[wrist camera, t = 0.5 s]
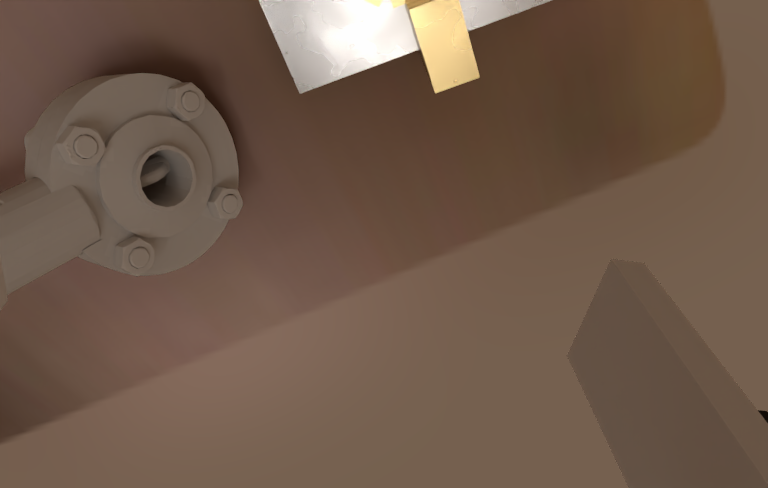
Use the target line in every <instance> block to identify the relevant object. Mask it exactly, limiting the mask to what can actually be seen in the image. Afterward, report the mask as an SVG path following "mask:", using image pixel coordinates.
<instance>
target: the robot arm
mask: <svg viewBox="0 0 768 488" xmlns="http://www.w3.org/2000/svg"><path fill="white" fill-rule="evenodd" d="M7 301H8V297H7V292H6V286H5V280H4V274H3V269H2V263H1V257H0V310H1V309H2V308H3V307H4V305H5V304H6V303H7ZM567 357H568V359H569V361H570V363H571V365H572V367H573V370H574V372H575V374H576V376H577V378H578V380H579V383H580V385H581V387H582V389H583V391H584V393H585V395H586V398H587V400H588V401H589V404H590V406H591V408H592V410H593V413H594V415H595V417H596V418H597V421H598V423H599V425H600V427H601V430H602V432H603V434H604V436H605V438H606V440H607V443H608V445H609V447H610V449H611V451H612V453H613V455H614V457H615V460H616V462H617V464H618V466H619V468H620V470H621V472H622V475H623V477H624V479H625V481H626V483H627V485H628V487H629V488H768V412H767V411H759V410H757V409H756V407H755V406H754V405H753V404H752V402H751V401H750V400H749V399H748V397H747V396H746V394H745V393H744V392H743V391H742V389H741V388H740V387H739V386H738V384H737V383H736V382H735V380H734V379H733V378H732V376H731V375H730V374H729V372H728V371H727V370H726V369H725V367H724V366H723V365H722V363H721V362H720V361H719V359H718V358H717V357H716V356H715V354H714V353H713V352H712V350H711V349H710V348H709V347H708V345H707V344H706V343H705V341H704V340H703V339H702V338H701V336H700V335H699V333H698V332H697V331H696V330H695V328H694V327H693V326H692V324H691V323H690V322H689V320H688V319H687V318H686V317H685V315H684V314H683V313H682V311H681V310H680V309H679V307H678V306H677V305H676V304H675V302H674V301H673V300H672V298H671V297H670V296H669V295H668V293H667V292H666V291H665V289H664V288H663V287H662V286H661V284H660V283H659V282H658V280H657V279H656V278H655V276H654V275H653V274H652V272H651V271H650V270H649V269H648V267H647V266H646V265H645V263H640V262H633V261H624V260H616V259H611V260H610V262H609V264H608V267H607V269H606V271H605V273H604V275H603V278H602V280H601V282H600V284H599V286H598V289H597V291H596V293H595V295H594V298H593V300H592V302H591V304H590V306H589V309H588V311H587V313H586V315H585V317H584V320H583V322H582V324H581V326H580V328H579V330H578V333H577V335H576V337H575V339H574V341H573V344H572V346H571V348H570V350H569V352H568V355H567Z"/></svg>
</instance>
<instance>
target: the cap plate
mask: <svg viewBox="0 0 768 488" xmlns="http://www.w3.org/2000/svg"><path fill="white" fill-rule="evenodd" d="M459 1H460V5H461V9H462V12H463V16H464V20H465V23H466V27H467V31H471V30H473V29H476V28H479V27H481V26H484V25H487V24H489V23H492V22H495V21H497V20H500V19H503V18H506V17H508V16H511V15H514V14H516V13H519V12H522V11H524V10H527V9H530V8H532V7H535V6H538V5H541V4H543V3H546V2H549V1H551V0H459ZM259 2H260V5H261V7H262V9H263V11H264V14H265V16H266V18H267V21H268V23H269V25H270V27H271V30H272V32H273V34H274V36H275V39H276V41H277V43H278V45H279V48H280V50H281V52H282V55H283V57H284V59H285V61H286V64H287V66H288V68H289V70H290V73H291V75H292V77H293V80H294V82H295V84H296V86H297V89H298V91H299V93H300V94H301V93H304V92H306V91H309V90H312V89H314V88H317V87H320V86H322V85H325V84H328V83H331V82H333V81H336V80H339V79H341V78H344V77H347V76H349V75H352V74H355V73H357V72H360V71H363V70H366V69H368V68H371V67H374V66H376V65H379V64H382V63H384V62H387V61H390V60H392V59H395V58H398V57H401V56H403V55H406V54H409V53H411V52H414V51H417V50H419V49H418V46H417V43H416V40H415V36H414V33H413V30H412V27H411V24H410V21H409V17H408V14H407V11H406V8H405V5H404V4H403V5H401V6H398V7H396V8H393V5H392V3H391V0H382V2H381V5H380V7H377V6H375V5H373V4H371V3H369V2H367V1H365V0H259Z"/></svg>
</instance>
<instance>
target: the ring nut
mask: <svg viewBox="0 0 768 488" xmlns="http://www.w3.org/2000/svg"><path fill="white" fill-rule="evenodd" d="M365 1H367V2H369V3H371V4H373V5H375V6H377V7H380V5H381V2H382V0H365ZM391 3H392V5H393V8H396V7H398V6H401V5H403V4H404V5H405V8H406V11H407V14H408V17H409V21H410V24H411V27H412V30H413V33H414V36H415V40H416V43H417V46H418V49H419V52H420V55H421V59H422V62H423V65H424V67H425V70H426V72H427V75H428V77H429V80H430V82H431V84H432V87H433V89H434V92H435V93H438V92H441V91H443V90H446V89H449V88H452V87H455V86H457V85H460V84H463V83H466V82H468V81H471V80H474V79H477V78H480V76H479V72H478V68H477V65H476V61H475V57H474V53H473V50H472V46H471V42H470V38H469V35H468V31H467V27H466V23H465V20H464V16H463V12H462V9H461V5H460V1H459V0H391Z"/></svg>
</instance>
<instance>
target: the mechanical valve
mask: <svg viewBox="0 0 768 488" xmlns="http://www.w3.org/2000/svg"><path fill="white" fill-rule="evenodd" d="M24 144H25V149H26V159H25V169H24V170H25V180H26V182H23V183H21V184H19V185H17V186H14V187H12V188H10V189H8V190H5V191H3V192H1V193H0V257H1V263H2V269H3V274H4V280H5V286H6V292H7V295H8V294H10V293H12V292H14V291H15V290H17V289H19V288H21V287H23V286H25V285H26V284H28V283H30V282H32V281H34V280H35V279H37V278H39V277H41V276H43V275H44V274H46V273H48V272H50V271H52V270H54V269H55V268H57V267H59V266H61V265H63V264H64V263H66V262H68V261H70V260H72V259H73V258H75V257H79V258H81V259H83V260H85V261H88V262H91V263H94V264H97V265H100V266H103V267H106V268H109V269H112V270H115V271H119V272H122V273H125V274H129V275H134V276H136V277H137V276H139V275H140V276H150V275H160V274H165V273H168V272H172V271H175V270H178V269H180V268H182V267H184V266H186V265H188V264H190V263H192V262H193V261H195V260H196V259H198V258H199V257H200V256H202V255H203V254H204V253H205V252H206V251H207V250H208V249H209V248H210V247H211V246H212V245H213V244H214V243H215V242H216V240H217V239H218V238H219V236H220V235H221V233H222V232H223V230H224V229H225V227H226V225H227V223H228V221H229V219H235V218H236V217H237V216H238V214H239V212H240V210H241V208H242V206H243V201H242V198H241V196H240V193H239V191H238V182H239V168H238V160H237V153H236V149H235V146H234V142H233V139H232V136H231V134H230V132H229V130H228V127H227V125H226V123H225V121H224V120H223V118H222V117H221V115H220V114H219V112H218V111H217V110H216V109H215V107H214V106H213V105H212V104H211V103H210V102H209V101H208V100H207V99H206V98H205V95H204V93H203V92H202V91H201V90H200V89H199V88H198V87H196V86H195V85H194V84H193V83H192V82H185V83H183V82H181V81H179V80H177V79H173V78H170V77H167V76H163V75H160V74H150V73H135V74H120V75H109V76H99V77H96V78H92V79H89V80H85V81H82V82H80V83H78V84H76V85H74V86H72V87H70V88H68V89H67V90H66V91H64V92H63V93H62V94H60V95H59V96H58V97H57V98H55V99H54V100H53V101H52V102H51V103H50V105H49V106H48V107H47V108H46V109H45V111H44V112H43V113H42V114H41V116H40V118H39V119H38V121H37V123H36V125H35V127H34V128H32V129H30V130H29V131H28V132H27V134H26V136H25V139H24Z"/></svg>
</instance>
